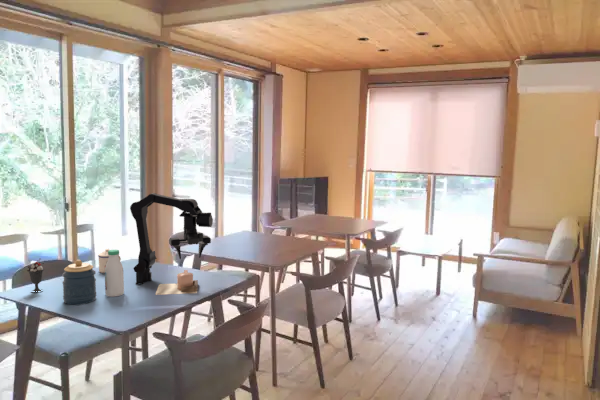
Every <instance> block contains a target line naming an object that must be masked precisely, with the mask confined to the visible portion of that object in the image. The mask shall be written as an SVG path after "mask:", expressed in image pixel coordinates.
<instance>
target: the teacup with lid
mask: <svg viewBox="0 0 600 400" xmlns="http://www.w3.org/2000/svg"><path fill="white" fill-rule="evenodd" d="M109 250H110V249H109V248H106V249H105V250H104V251H102V252H100V253H98V255H97V257H98V272H99V273H101V274H105V267H106V264H107V262H108V259H109V256H108V251H109ZM119 259H120V261H121V260H122V259H121V256H120V255H119Z"/></svg>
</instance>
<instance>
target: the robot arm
mask: <svg viewBox="0 0 600 400" xmlns="http://www.w3.org/2000/svg"><path fill="white" fill-rule="evenodd" d="M154 203H155V204H159V205H164V206H169V207H173V208H177V209H178V210H180V211H182V212H181V214H179V217H183V238H179V237H177V236H176V237H170V238H169V239H168V244H169V245H170V246H172V247H173V248H175V250H176V252H177V256H178V258H179V260H181V259H182V254H181V245H180V244H188V245H189V246H191V245H192V246H193V245H198V258H201V257H202V256H201V255H202V254H203V250H204V249H205V247H206V246H208V245H209V244H211V243H212V241H211V240H212V239H211V237H210V236H208V235H204V234H203V232H202V233H201V232H200V233H198V231H197V230H198V229H197V226H198V227H201V228H202V227H203V228H212V227H213V223H214V219H213V215H212V212H203V211H202V210H201V208H200V206H199V204H198V202H197V200H196V199H193V198H176V197H173V196H167V195H164V194H157V193H155V192H153V193H149V194H147V196H145V197H143V198H142V199H140V200H138V201H135V202H132V203H131V205H130V207H129V209H130V213H131V216H132V217H133V219H134V221H135V223H136V231H137V238H138V245H139V254H138V258H137V259H138V261H137V264H136V265H135V266H134V267H133V268H132V269H133V270H134V271H133V272H135V276H136V277H135V281H136V282H135V285H143V284H144V283H147V282H152V280H153V279H152V278H153V276H152V275H153V274H152V272H151V269H152V267H153V265H154V264H155V263H156V260H157V257H156V250H152V248H151V245H150V237H149V229H148V224H147V216H148V213H149V211H148V209H149V207H151V206H152V205H153V204H154Z"/></svg>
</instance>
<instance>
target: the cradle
mask: <svg viewBox="0 0 600 400" xmlns="http://www.w3.org/2000/svg"><path fill="white" fill-rule="evenodd" d="M198 285H199V281H198V280H196V279H195V280H194V279H193V286H190V287H181V290H178V289H177V283H159V284H158V286H157V289H156V291H155V296H157V295H158V296H159V295H162V296H163V295H181V294H182V295H183V294H184V295H185V294H198Z"/></svg>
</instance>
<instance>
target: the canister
mask: <svg viewBox="0 0 600 400" xmlns="http://www.w3.org/2000/svg"><path fill="white" fill-rule="evenodd" d="M93 268H94V265H92V264H90V263H87V262H83V261H82V260H81V259H76V261H74V263H70V264H68V265H67V266H66V267H65V268H63V270H64V272H63V273H62V277H63V281H62V287H63V289H62V290H63V292H62V293H63V295H62V297H63V298H62V299H63V302H64V303H65V304H67V305H73V304H74V305H75V306H76V305H84V304H85V305H86V304H88V303H93V302H94V301H95V300H96V299H97V288H96V286H97V285H96V284H97V283H96V282H97V279H96V278H95V274H96V273H97V272H96V270H95V269H93Z"/></svg>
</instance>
